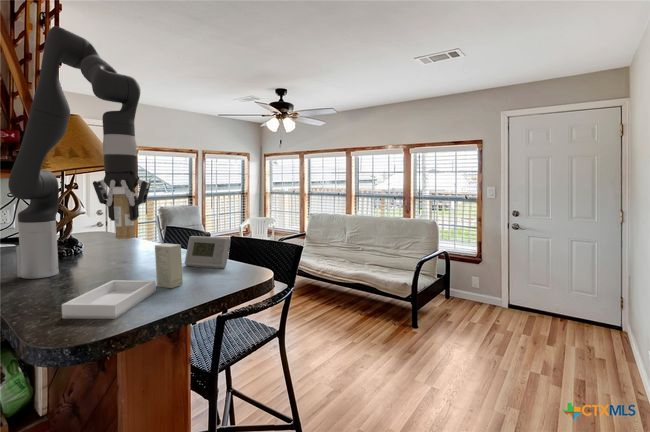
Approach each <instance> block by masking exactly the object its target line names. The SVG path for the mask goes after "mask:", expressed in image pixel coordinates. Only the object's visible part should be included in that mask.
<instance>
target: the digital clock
mask: <svg viewBox="0 0 650 432" xmlns="http://www.w3.org/2000/svg"><path fill="white" fill-rule="evenodd" d="M230 241H231V239H230V238H228V237H220V236H205V235H204V236H202V235H201V236H200V235H199V236H198V235H191V236H189V239H188V242H187V243H188V244H187V248H186V253H185V260H184V265H185V266H187V267H188V266H189V267H193V268H204V269H205V268H206V269H225V268H226V266H227V263H228V262H227V261H228V257H229V251H230V249H229V248H230V243H231V242H230Z"/></svg>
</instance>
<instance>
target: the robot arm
mask: <svg viewBox="0 0 650 432" xmlns="http://www.w3.org/2000/svg"><path fill="white" fill-rule="evenodd" d="M60 63H61V64H64V65H66V66H68V67H71V68H74V69H76V70H77V69H78V70H80V73H81V74H82V76H83V77H84V78H85V79H86V81H88V82H89V84H91V89H92V92H93V94H94V95H95V97H96V98H98V99H100V100H102V101H105V102H106V101H107V102H112V103H118V104H121V108H120V110H109V111H108V110H107V111H105V112H104V113H103V114H102V117H101V119H102V134H103V139H102V153H103V169H104V170H103V171H104V173H105V175H104V177H103V179H101V180H97V181H96V180H94V181H92V186H93V188H94V191H95V194H96V196H97V199H98V202H99V203H100V204H102V205H106V206H107V211H108V215H107V216H108V218H109V219H110V221H111V222H112V221H114V222H115V219H114V196H113V195H114V194H113V188H114V187H124V189H125V194H126V197H127V198H128V200H129V202H130V205H131V206H129V207H130V220H131V221H137V219H139V217H140V215H139V213H140V212H139V206H140V205H142V204H145V203H146V202H147V199H148V195H149V191H150V188H151V184H152V183H151V182H150V181H149V180H143V179H141V178H140V176H139V173H138V172H139V170H138V169H139V168H138V167H139V166H138V149H137V142H136V141H137V140H136V132H135V131H136V130H135V119H136V113H137V110H138V104H139V101H140V97H141V86H140V83H139V82H138V80H137V79H136V78H134V77H132V76H130V75H125V74H122V73H121V74H120V73H118V71H117V70H116V69H115V68H114V67H113V66H112V65H111V64H109V62H108V61H106V60H104V59H103V58H102V56H101V55H100V53H99V52H98V51H97V49H96V48H95V46H94V45H93V44H92V43H91V42H90V41H89V40H88V39H86V38H84V37H82V36H80V35H77V34H75V32H71V31H69V30H67V29H65V28H63V27H60V26H57V25H55V26H52V27H51V28H50V29H49V31H48V32H47V35H46V38H45V41H44V47H43V53H42V58H41V65H40V72H39V76H38V81H37V85H36V88H35V93H34V96H33V98H32V101H31V102H32V103H31V106H30V110H29V114H28V118H27V123H26V127H25V131H24V133H23V134H24V135H23V137H22V141H21V144H20V148H19V152H18V153H17V156H16V159H15V161H14V163H13V166H12V168H11V171H10V173H9V178H8V182H7V183H8V190H9V193H10V195H12V196H13V197H14V198H16V199H18V200H24V201H25V200H26V201H27V200H29V201H30V202H29V205H27V207H26V208H24V209H22V210H21V211H19V212H18V214H17V224H18V225H17V227H18V228H17V229H18V242H19V245H17V246H16V248H15V250H16V267H17V277H18V278H22V279H29V280H31V279H34V280H35V279H42V278H43V279H44V278H49V277H54V276H56V275H58V274H59V273H60V272H59V270H60V269H59V255H58V236H57V235H58V232H57V231H58V230H57V214H58V211H59V206H60V205H59V201H60V200H59V198H60V197H59V195H60V194H59V193H60V189H59V187H60V186H59V182H58V179H57V177H56V175H55V174H54V172H52V171H50V170H47V169H42V166H43V163H44V160H45V158H46V157H47V155H48V154H49V153H50V151H51V150H52V149H53V148H54V147H55V146H57V144H59V142H60V140H62V138H63V137H64V135H65V133H66V131H67V128H68V125H69V121H70V117H71V108H70V105H69V102H68V100H67V97H66V95H65V92H64V90H63V88H62V85H61V81H60V76H59V69H60ZM137 186H138V187H139V191H138V193H137V191H136V188H137ZM106 187H108V192H107V190H106ZM126 189H127V190H126ZM131 192H133V194H132V193H131Z"/></svg>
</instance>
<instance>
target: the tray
mask: <svg viewBox="0 0 650 432" xmlns="http://www.w3.org/2000/svg"><path fill="white" fill-rule="evenodd" d="M156 290H157V289H156V280H125V279H124V280H123V279H122V280H117V279H115V280H113V279H112V280H110V281H108V282H106V283H104V284H102V285H100V286H98V287H95V288H93V289H92V290H89V291H87V292H85V293H83V294H81V295H79V296H77V297H75V298H73V299H70V300H69V301H66V302H64V303H62V304H61V315H62V316H61V318H62V319H79V320H81V319H84V320H85V319H88V320H89V319H92V320H93V319H95V320H96V319H97V320H98V319H99V320H100V319H101V320H104V319H105V320H116V319H118V318H119V317H121V316H122V315H124V314H125V313H126V312H128V311H129V310H131V309H132V308H133V307H136V306H137V305H139V304H140V303H141V302H143V301H144V300H146V299H147V298H149V297H150V296H152V295H153V294H155V293H156Z"/></svg>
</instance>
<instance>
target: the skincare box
mask: <svg viewBox="0 0 650 432" xmlns="http://www.w3.org/2000/svg"><path fill="white" fill-rule="evenodd" d="M154 254H155V255H154V256H155V272H156V275H155V276H156V286H157V287H162V288H166V289H174V288H177V287H180V286H182V285H183V263H182V262H183V261H182V244H179V243H177V244H176V243H169V242H166V243H160V244H155V245H154Z"/></svg>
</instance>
